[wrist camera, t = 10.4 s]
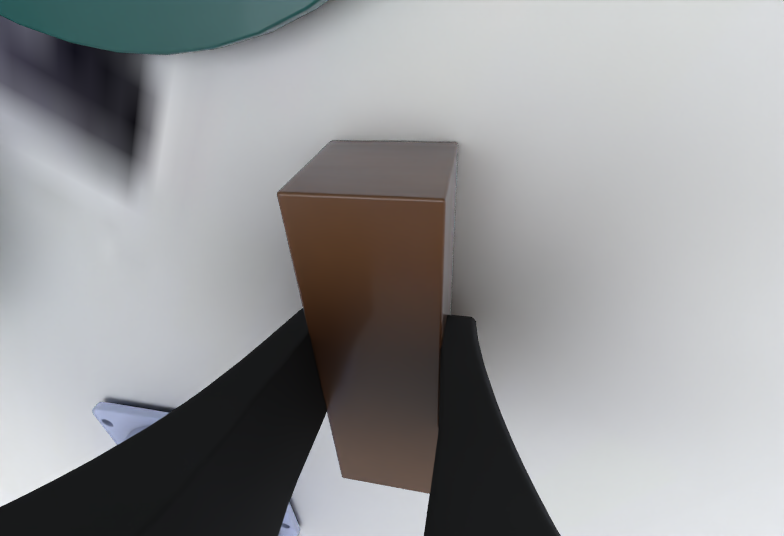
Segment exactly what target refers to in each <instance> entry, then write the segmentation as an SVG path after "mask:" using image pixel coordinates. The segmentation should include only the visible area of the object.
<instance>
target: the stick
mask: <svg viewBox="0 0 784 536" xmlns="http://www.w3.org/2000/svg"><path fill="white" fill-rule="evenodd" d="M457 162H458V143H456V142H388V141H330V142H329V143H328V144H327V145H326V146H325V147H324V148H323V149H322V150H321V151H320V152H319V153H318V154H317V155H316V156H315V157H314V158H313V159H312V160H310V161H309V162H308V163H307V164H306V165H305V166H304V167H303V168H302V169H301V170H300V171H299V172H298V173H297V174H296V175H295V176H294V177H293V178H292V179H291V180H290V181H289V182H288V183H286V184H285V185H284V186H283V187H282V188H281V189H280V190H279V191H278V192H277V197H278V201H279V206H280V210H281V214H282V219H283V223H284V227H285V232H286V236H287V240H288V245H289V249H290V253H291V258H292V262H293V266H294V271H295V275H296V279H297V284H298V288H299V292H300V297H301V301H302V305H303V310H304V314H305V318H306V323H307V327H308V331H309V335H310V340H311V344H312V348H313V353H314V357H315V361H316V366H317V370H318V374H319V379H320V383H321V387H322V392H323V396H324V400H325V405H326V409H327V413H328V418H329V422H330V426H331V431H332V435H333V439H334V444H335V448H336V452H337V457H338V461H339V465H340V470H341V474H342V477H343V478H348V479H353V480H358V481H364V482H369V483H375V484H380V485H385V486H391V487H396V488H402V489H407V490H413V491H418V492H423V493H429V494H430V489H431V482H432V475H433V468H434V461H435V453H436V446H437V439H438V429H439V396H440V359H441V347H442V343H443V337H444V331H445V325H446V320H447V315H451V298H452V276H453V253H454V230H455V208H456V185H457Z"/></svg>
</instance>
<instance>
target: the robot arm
mask: <svg viewBox="0 0 784 536" xmlns="http://www.w3.org/2000/svg"><path fill="white" fill-rule="evenodd" d="M92 412H93V414H94V415H95V417H96V418H97V419H98V421H99V422H100V423H101V425H102V426H103V427H104V428H105V430H106V431H107V432H108V434H109V435H110V436H111V437H112V439H113V440H114V441H115V443H116V444H117V446H115V447H113V448H112V449H110V450H108V451H107V452H105V453H103V454H101V455H100V456H98V457H96V458H95V459H93V460H91V461H89V462H87V463H85V464H84V465H82V466H80V467H78V468H76V469H74V470H72V471H71V472H69V473H67V474H65V475H63V476H61V477H59V478H57V479H55V480H54V481H52V482H50V483H48V484H46V485H44V486H42V487H40V488H38V489H36V490H34V491H32V492H30V493H28V494H26V495H24V496H22V497H20V498H18V499H16V500H14V501H12V502H10V503H8V504H6V505H4V506H1V507H0V536H299V533H300V527H299V525H298V522H297V520H296V517H295V515H294V512H293V510H292V507H291V505H290V502H289V501H290V498H291V496H292V493H293V491H294V488H295V485H296V483H297V480H298V478H299V476H300V473H301V471H302V469H303V466H304V464H305V462H306V459H307V457H308V455H309V452H310V450H311V448H312V445H313V443H314V441H315V438H316V436H317V433H318V431H319V429H320V426H321V424H322V422H323V419H324V417H325V414H326V412H327V409H326V405H325V400H324V396H323V392H322V387H321V383H320V379H319V374H318V370H317V366H316V361H315V357H314V353H313V348H312V344H311V340H310V335H309V331H308V327H307V323H306V318H305V314H304V310H303V308H302V309H301V310H299V311H298V312H297V313H296V314H295V315H294V316H293V317H291V318H290V319H289V320H288V321H287V322H286V323H284V324H283V325H282V326H281V327H280V328H279V329H278V330H276V331H275V332H274V333H273V334H272V335H271V336H270V337H268V338H267V339H266V340H265V341H264V342H262V343H261V344H260V345H259V346H258V347H257V348H255V349H254V350H253V351H252V352H251V353H249V354H248V355H247V356H246V357H245V358H243V359H242V360H241V361H240V362H238V363H237V364H236V365H235V366H233V367H232V368H231V369H229V370H228V371H227V372H226V373H224V374H223V375H222V376H220V377H219V378H218V379H216V380H215V381H214V382H213V383H211V384H210V385H209V386H207V387H206V388H205V389H203V390H202V391H201V392H199V393H198V394H197V395H195V396H194V397H192V398H191V399H189V400H188V401H187V402H185V403H184V404H182V405H181V406H179V407H178V408H176V409H175V410H173V411H172V412H170V413H169V412H163V411H157V410H151V409H145V408H139V407H133V406H126V405H120V404H114V403H108V402H99V403H98V404H97V405H96V406H95V407H94V408H93V410H92ZM424 536H560V534H559V532H558V530H557V529H556V527H555V525H554V523H553V522H552V520H551V518H550V516H549V514H548V512H547V510H546V508H545V506H544V505H543V503H542V501H541V499H540V497H539V495H538V493H537V491H536V489H535V487H534V485H533V483H532V481H531V479H530V477H529V475H528V473H527V471H526V469H525V467H524V465H523V463H522V461H521V458H520V456H519V454H518V452H517V450H516V448H515V445H514V443H513V441H512V439H511V436H510V434H509V431H508V429H507V427H506V424H505V422H504V419H503V417H502V414H501V412H500V409H499V407H498V404H497V401H496V399H495V396H494V393H493V390H492V387H491V384H490V381H489V378H488V375H487V372H486V369H485V365H484V362H483V358H482V354H481V350H480V346H479V341H478V336H477V328H476V321H475V320H474V319H473V318H472V317H466V316H456V315H447V320H446V325H445V331H444V337H443V343H442V347H441V359H440V396H439V429H438V439H437V446H436V453H435V461H434V468H433V475H432V482H431V489H430V496H429V503H428V510H427V517H426V525H425V532H424Z"/></svg>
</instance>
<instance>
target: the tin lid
mask: <svg viewBox="0 0 784 536" xmlns="http://www.w3.org/2000/svg"><path fill="white" fill-rule="evenodd" d="M327 1H328V0H0V15H1V16H3V17H5V18H7V19H9V20H11V21H13V22H15V23H17V24H19V25H22V26H25V27H28V28H31V29H33V30H36V31H39V32H42V33H45V34H48V35H50V36H53V37H56V38H59V39H62V40H64V41H67V42H70V43H74V44H79V45H84V46H89V47H94V48H98V49H103V50H108V51H113V52H118V53H135V54H155V55H171V54H179V53H187V52H195V51H203V50H211V49H217V48H221V47H225V46H228V45H232V44H235V43H238V42H241V41H245V40H248V39H251V38H254V37H257V36H261V35H264V34H267V33H270V32H272V31H274V30H276V29H278V28H280V27H282V26H284V25H286V24H288V23H290V22H292V21H294V20H296V19H298V18H300V17H301V16H303V15H305V14H307V13H309V12H311V11H313V10H315V9H317V8H319V7H320V6H321V5H323V4H324V3H325V2H327Z"/></svg>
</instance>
